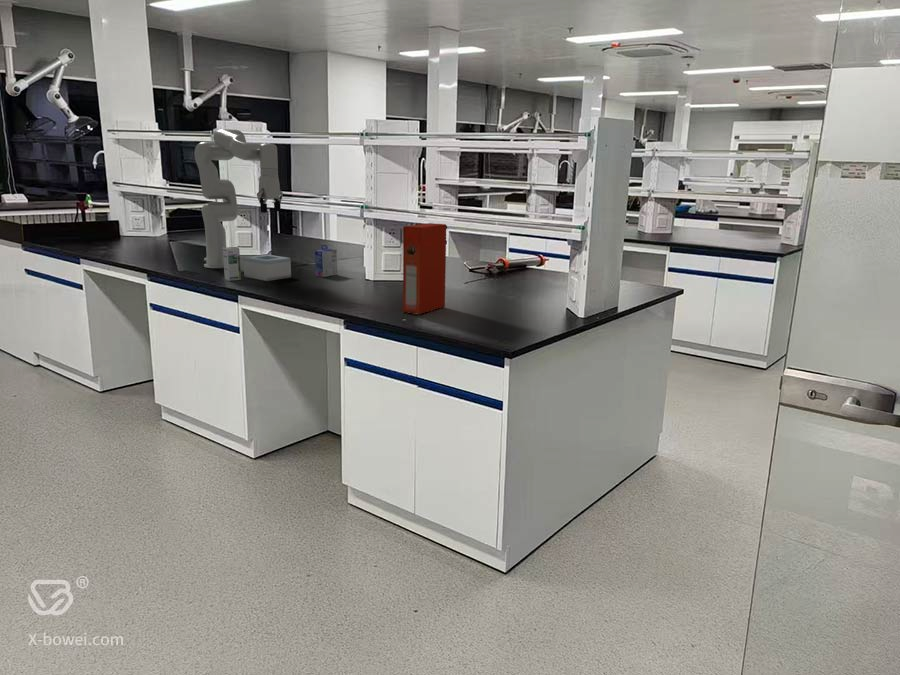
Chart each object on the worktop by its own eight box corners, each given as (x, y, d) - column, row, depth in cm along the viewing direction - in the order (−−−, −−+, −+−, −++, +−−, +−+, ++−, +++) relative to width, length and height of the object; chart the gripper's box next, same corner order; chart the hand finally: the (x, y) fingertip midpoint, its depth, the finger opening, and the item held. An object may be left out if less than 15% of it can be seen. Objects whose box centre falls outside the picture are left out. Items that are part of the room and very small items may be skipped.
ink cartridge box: (329, 273, 331) (329, 243, 327) (338, 274, 328) (337, 244, 324) (314, 276, 323) (314, 245, 320) (323, 277, 320) (322, 246, 317)
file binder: (402, 312, 254) (403, 226, 246) (427, 304, 269) (428, 222, 260) (420, 315, 250) (422, 227, 242) (444, 307, 265) (447, 224, 256)
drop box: (244, 276, 316) (243, 257, 314) (268, 273, 327) (267, 254, 325) (267, 281, 307) (266, 261, 305) (291, 277, 318) (290, 258, 316)
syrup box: (228, 281, 305) (226, 248, 301) (224, 279, 309) (222, 247, 305) (241, 280, 308) (239, 247, 304) (236, 278, 312) (235, 246, 309)
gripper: (274, 172, 312) (275, 210, 316) (249, 172, 296) (251, 212, 301) (288, 172, 309) (289, 211, 314) (263, 173, 294) (265, 213, 298)
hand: (270, 211), depth 307 cm, fingers open, 9 cm apart
